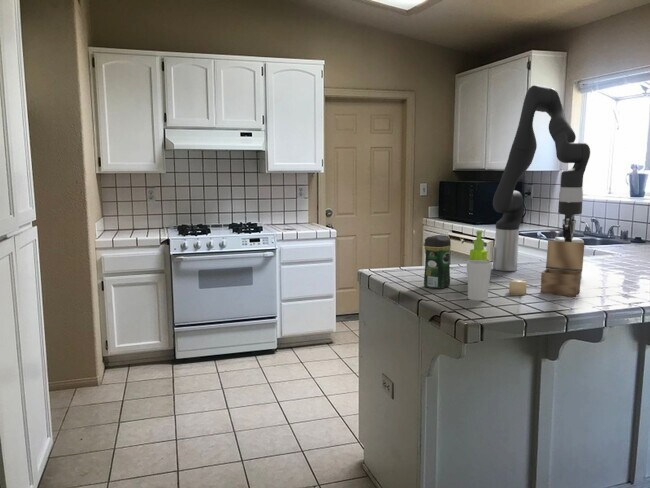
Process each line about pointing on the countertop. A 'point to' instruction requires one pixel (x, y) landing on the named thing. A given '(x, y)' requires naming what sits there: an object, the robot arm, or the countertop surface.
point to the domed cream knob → (517, 287)
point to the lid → (565, 255)
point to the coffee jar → (437, 261)
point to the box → (560, 282)
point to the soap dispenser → (478, 248)
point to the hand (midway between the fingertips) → (567, 249)
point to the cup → (478, 279)
